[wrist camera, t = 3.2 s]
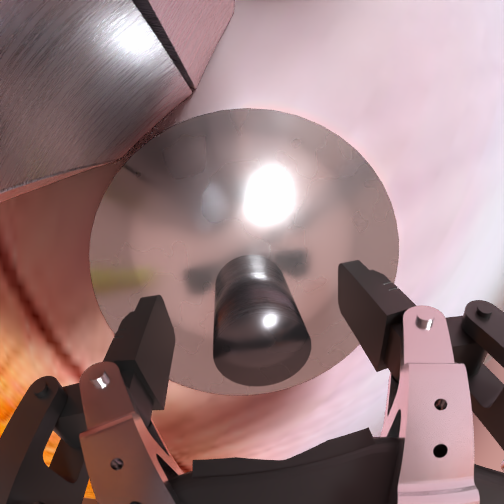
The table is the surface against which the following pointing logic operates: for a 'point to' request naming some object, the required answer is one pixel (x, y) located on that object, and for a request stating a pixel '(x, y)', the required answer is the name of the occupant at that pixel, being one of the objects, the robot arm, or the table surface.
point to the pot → (93, 79)
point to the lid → (243, 245)
